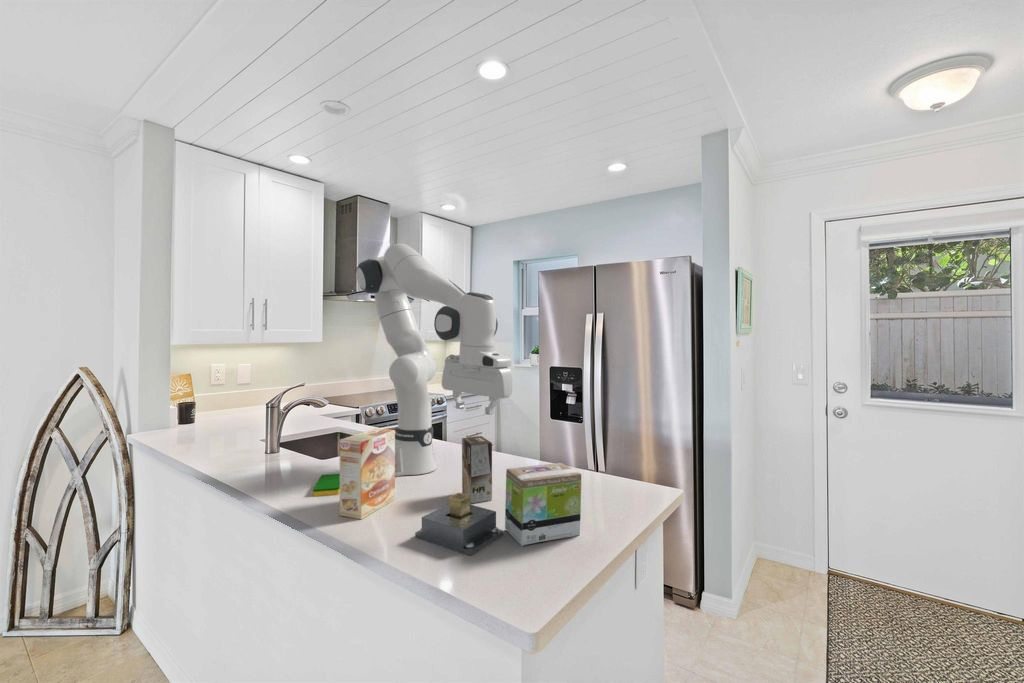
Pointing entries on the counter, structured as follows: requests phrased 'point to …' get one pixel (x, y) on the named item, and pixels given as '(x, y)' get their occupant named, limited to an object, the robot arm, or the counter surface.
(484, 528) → the grey square socket block
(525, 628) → the counter surface
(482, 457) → the coffee box
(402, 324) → the robot arm
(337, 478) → the dish sponge
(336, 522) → the counter surface
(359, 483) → the coffeecake box
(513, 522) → the tea box
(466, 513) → the wooden square peg
